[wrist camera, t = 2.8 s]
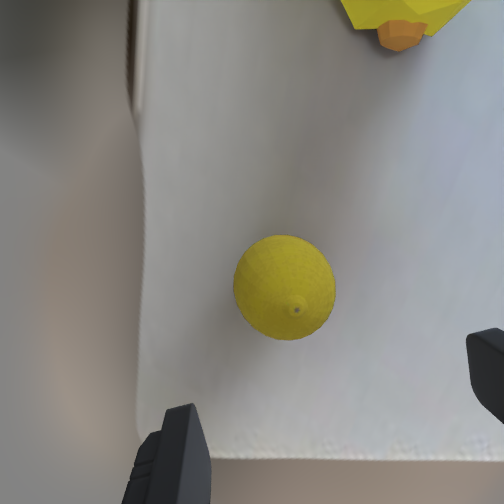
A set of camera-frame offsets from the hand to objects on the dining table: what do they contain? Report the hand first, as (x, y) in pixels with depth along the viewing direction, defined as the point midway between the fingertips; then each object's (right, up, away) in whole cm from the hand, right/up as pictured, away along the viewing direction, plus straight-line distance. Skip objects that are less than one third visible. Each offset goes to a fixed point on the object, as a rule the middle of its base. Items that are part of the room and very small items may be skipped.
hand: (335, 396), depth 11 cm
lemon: (-1, +3, +14) cm, 15 cm away
